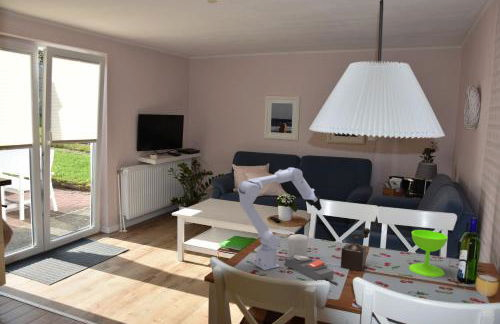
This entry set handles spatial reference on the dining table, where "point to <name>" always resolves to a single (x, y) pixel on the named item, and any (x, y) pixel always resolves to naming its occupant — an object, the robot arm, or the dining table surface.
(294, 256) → the grey rocker
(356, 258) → the manual coffee grinder
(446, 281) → the dining table surface
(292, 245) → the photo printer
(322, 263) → the red rocker
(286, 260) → the power strip
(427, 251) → the wineglass
